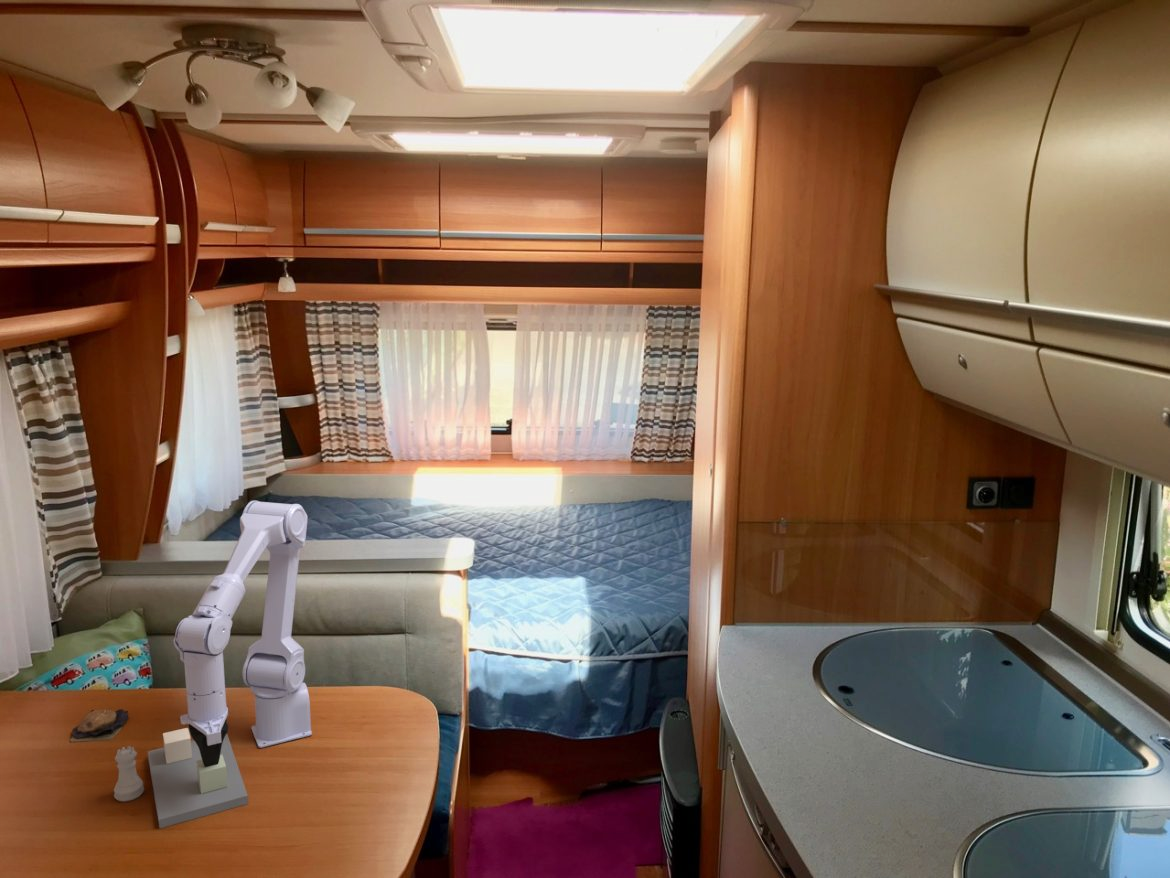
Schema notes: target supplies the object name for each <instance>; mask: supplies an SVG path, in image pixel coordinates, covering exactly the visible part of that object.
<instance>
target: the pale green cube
mask: <svg viewBox="0 0 1170 878" xmlns="http://www.w3.org/2000/svg"><path fill="white" fill-rule="evenodd" d="M196 762H197V776H198V784H199V788H200V792H201V794H202V793H206V792H209V791H213V790H217V789H221V788H224V787H227V773H226V764H225V761H224V758H223V755H220V759H219V763H218V764H217V765H213V766H209V767H205V766H204V764H203V761H202V760H198V761H196Z"/></svg>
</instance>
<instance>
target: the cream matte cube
mask: <svg viewBox="0 0 1170 878" xmlns="http://www.w3.org/2000/svg"><path fill="white" fill-rule="evenodd" d="M162 737H163V739H162V740H163V748H164V753H165V758H166V763H167V764H168V763H172V762H176V761H180V760H185V759H189V758H192V750H191V741H192V737H191V734H190V730H189V727H185V728H181V729H175V730H172V731H167V732H163V733H162Z"/></svg>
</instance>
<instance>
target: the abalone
mask: <svg viewBox="0 0 1170 878" xmlns="http://www.w3.org/2000/svg"><path fill="white" fill-rule="evenodd" d="M128 712H129V711H128V710H126V711H125V710H124V709H122V708H121V709H120V708H119V709H117V710H111V709H104V708H103V709H102V708H101V709H96V710H94V709H92V710H91V711H89V713H87V714H86V715H85V716H84V717H83V718H82V719H81V721H80V723H79V725H77V726H75V727H74V728H73V729H72V733H71V734H72V737H71V738H70V739H69V743H72V744H73V743H86V742H87V743H89V742H102V741H103V742H104V741H105V742H107V741H111V740H113V739H114V738H115V737H116V736H117V735H118V733H119V732H120V731H121V730H122V728H123V727H124V726H125V725H126V723H127V721H128V720H129V719H130V718H129V713H128Z"/></svg>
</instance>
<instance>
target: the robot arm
mask: <svg viewBox="0 0 1170 878" xmlns="http://www.w3.org/2000/svg"><path fill="white" fill-rule="evenodd" d="M239 526H240V527H239V529H240V532H241V534H240V535H239V538H238V540H237V543H236V544H235V547H234V549H233V552H232V553H231V555H230V558H229V560H228V562H227V565H226V567H225V568H224V571H223V573H222V574H219V575H216V576H214V577H213V578H212V579H211V580H210V582H209V585H208V586H207V588H206V590H205V591H204V593H203V595H202V597H201V599H200V600H199V602H198V603H197V605H196V607H195V609H194V610H193V612H192V613H191V615H187V617H185V618H183V619H182V620H181V621H180V622H179V623H178V625H177V627H176V630H175V634H174V638H173V645H174V647H175V649H176V650H177V651H178V652H179V656H180V657H179V658H180V661H181V662H182V663H184V676H185V677H184V678H185V687H186V688H185V689H186V692H185V693H186V703H187V705H186V706H187V713H186V714H182V715H180V717H179V719H180V723H181V725H188V730H189V734H190V738H191V739H192V741H195V742H196V744H197V745H198V747H199V750H200V754H201V758H202V761H203V764H204V766H205V767H209V766H213V765H217V764H218V763H219V759H220V753H221V747H222V743H223V740H224V737H225V735H226V734H227V735H228V732H229V724H228V722H227V721H228V720H227V717H228V715H229V708H228V707H227V696H226V684H225V683H226V681H225V680H226V679H225V667H224V650H225V648H226V647H227V645H228V644H229V641H230V638H231V629H232V626H233V620H232V619H233V616H234V615H235V613H236V611H237V609H238V607H239V605H240V604H241V602H242V600H243V598H244V596H245V594H246V586H245V585H244V581H245V580H246V578H247V577H248V575H249V574H250V573H251V571H252V570H253V567H254V566H255V564H256V563H257V562H258V560H259V559H260V557H261V556H262V554H263V552H264V551H265V549H266V550H268V552H269V563H268V571H267V572H268V574H267V581H266V582H267V583H266V591H265V598H264V599H265V600H264V610H263V611H264V612H263V619H262V628H261V629H262V630H261V637H260V638H259V639H258V640H257V641H255V642H253V643H252V644H251V645H250V646H249V647H248V648H247V650H248V651H247V655H246V659H245V661H244V663H243V666H242V672H241V673H242V679H243V682H244V684H245V685H246V686H247V687H249V689H250V693H253V694H254V708H255V725H252V726H250V727H251V731H252V733H253V737H254V739H255V741H256V744H257V748H265V747H270V746H274V745H277V744H282V743H286V742H290V741H293V740H297V739H301V738H305V737H309V736H311V735H312V734H313V731H312V726H311V725H312V724H311V723H312V721H311V702H310V695H309V689H308V687H307V683H305V682H304V679H305V676H306V665H305V649H304V648H303V646H301V645H300V644H299V643H298V642H297V641H296V640H295V639H293V637H292V630H293V621H294V611H295V601H296V594H297V593H296V592H297V581H298V573H299V563H300V551H301V549H302V548H304V547H305V545H306V537H307V530H308V529H307V527H308V514H307V513H306V511H305V509H304V507H303V506H302V505H301V504H299V503H293V504H292V503H291V504H290V503H279V502H269V501H267V502H266V501H259V500H250V501H249V502H248V503H247V505H246V506H245V507H244V509H243V511H242V515H241V516H240V517H239Z"/></svg>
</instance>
